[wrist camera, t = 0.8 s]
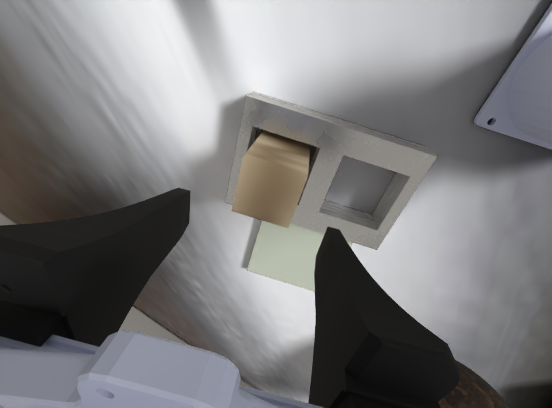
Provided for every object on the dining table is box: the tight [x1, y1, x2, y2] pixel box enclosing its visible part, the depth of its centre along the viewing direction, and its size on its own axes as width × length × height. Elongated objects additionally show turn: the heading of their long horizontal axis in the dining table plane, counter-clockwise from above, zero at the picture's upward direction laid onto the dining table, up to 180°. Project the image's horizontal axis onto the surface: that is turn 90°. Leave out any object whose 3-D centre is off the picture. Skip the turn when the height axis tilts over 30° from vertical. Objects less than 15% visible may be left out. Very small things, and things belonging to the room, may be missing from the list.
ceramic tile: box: [247, 220, 353, 291], centre depth 27 cm, size 9×8×1 cm
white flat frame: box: [225, 92, 437, 250], centre depth 21 cm, size 14×9×2 cm, turn 75°
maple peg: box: [232, 130, 310, 228], centre depth 19 cm, size 4×4×7 cm
